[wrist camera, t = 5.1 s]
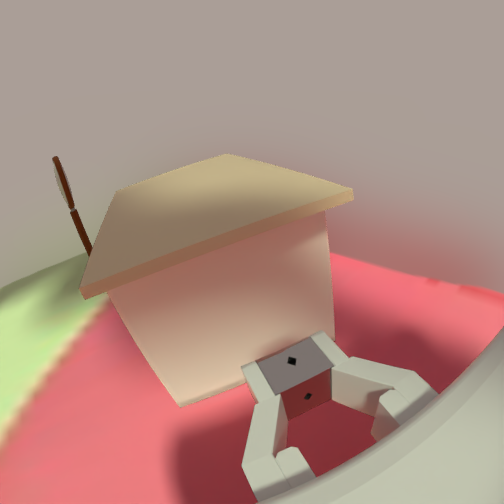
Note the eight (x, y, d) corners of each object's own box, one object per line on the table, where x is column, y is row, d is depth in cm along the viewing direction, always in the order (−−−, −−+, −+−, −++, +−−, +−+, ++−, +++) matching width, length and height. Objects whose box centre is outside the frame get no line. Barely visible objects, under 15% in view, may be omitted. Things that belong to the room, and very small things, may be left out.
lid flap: (85, 299, 11) (78, 288, 11) (117, 196, 30) (116, 191, 30) (353, 200, 14) (352, 189, 14) (228, 158, 33) (226, 153, 33)
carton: (180, 407, 19) (97, 274, 13) (155, 283, 36) (120, 195, 31) (335, 340, 22) (322, 193, 16) (248, 247, 39) (225, 159, 33)
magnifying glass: (91, 266, 46) (49, 160, 37) (99, 261, 47) (58, 156, 38) (100, 282, 40) (49, 157, 30) (109, 277, 41) (60, 152, 31)
